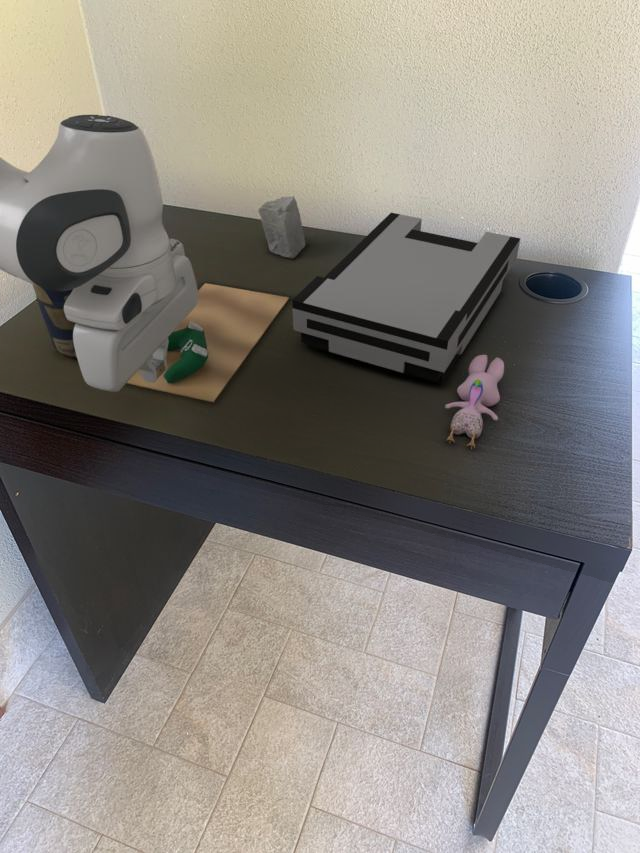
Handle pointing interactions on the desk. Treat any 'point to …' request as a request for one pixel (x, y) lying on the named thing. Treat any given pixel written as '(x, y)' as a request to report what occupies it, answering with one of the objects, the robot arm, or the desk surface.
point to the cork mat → (220, 338)
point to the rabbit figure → (476, 397)
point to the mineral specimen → (283, 226)
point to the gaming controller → (187, 352)
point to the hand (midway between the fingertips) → (155, 375)
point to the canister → (57, 319)
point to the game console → (405, 297)
